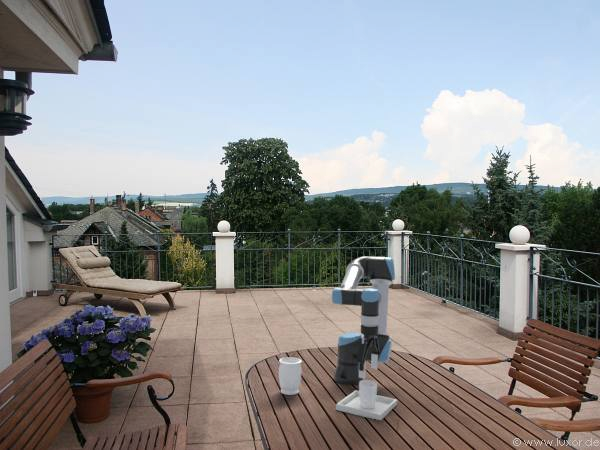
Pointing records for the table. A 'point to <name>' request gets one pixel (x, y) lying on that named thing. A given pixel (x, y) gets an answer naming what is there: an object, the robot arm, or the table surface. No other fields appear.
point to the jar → (289, 375)
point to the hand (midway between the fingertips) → (368, 373)
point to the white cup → (367, 393)
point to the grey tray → (353, 406)
